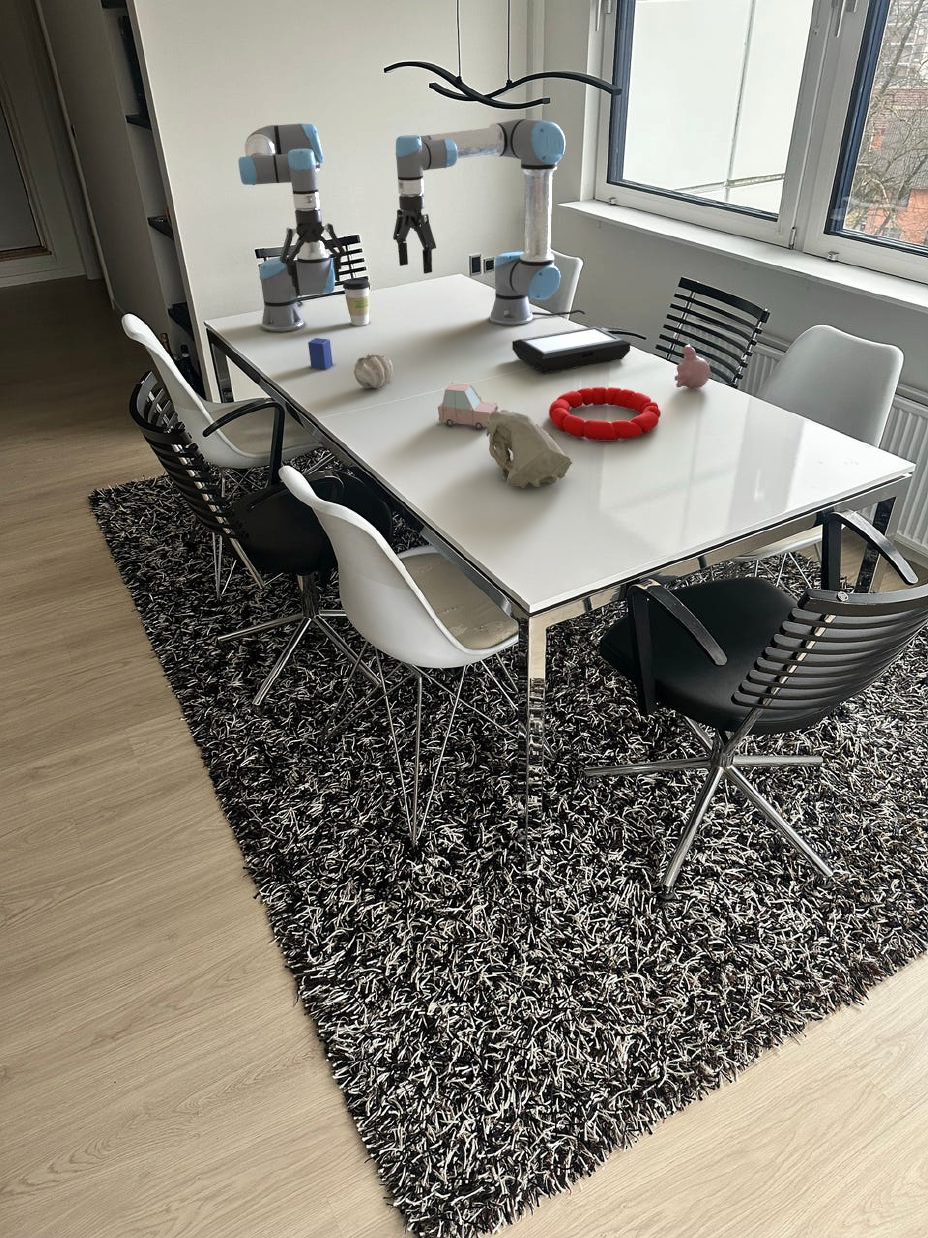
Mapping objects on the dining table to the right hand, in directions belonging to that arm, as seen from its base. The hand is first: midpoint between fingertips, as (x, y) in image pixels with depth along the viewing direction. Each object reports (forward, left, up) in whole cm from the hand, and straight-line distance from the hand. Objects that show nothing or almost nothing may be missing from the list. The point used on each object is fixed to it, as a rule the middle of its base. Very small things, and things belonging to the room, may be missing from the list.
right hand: (415, 268), depth 278 cm
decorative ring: (-8, +79, -28) cm, 84 cm away
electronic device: (-36, +34, -28) cm, 57 cm away
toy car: (+21, +56, -28) cm, 66 cm away
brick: (+30, -13, -28) cm, 43 cm away
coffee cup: (-4, -47, -28) cm, 54 cm away
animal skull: (+29, +89, -28) cm, 97 cm away
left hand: (+29, -12, -2) cm, 31 cm away
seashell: (+26, +15, -28) cm, 41 cm away
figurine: (-45, +77, -28) cm, 93 cm away
